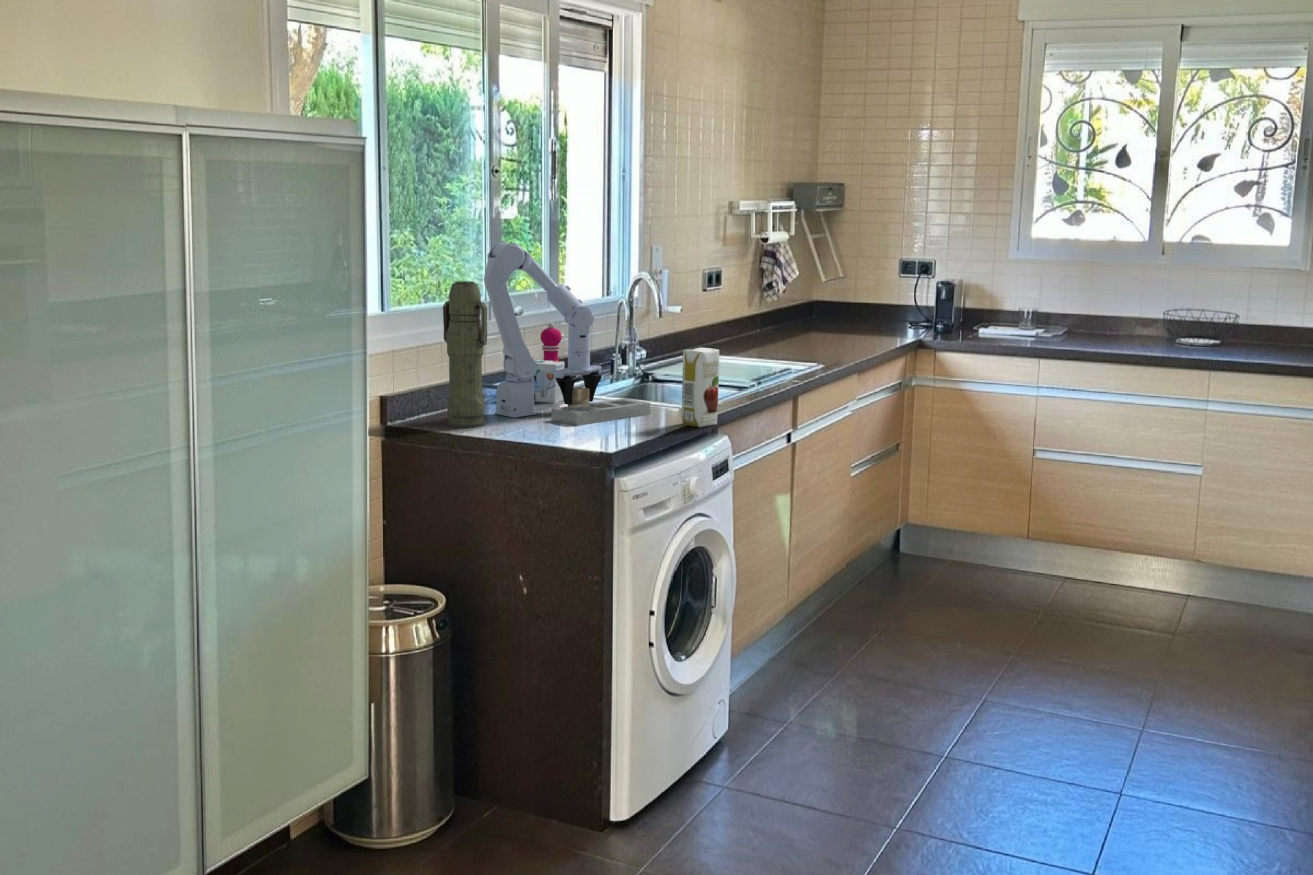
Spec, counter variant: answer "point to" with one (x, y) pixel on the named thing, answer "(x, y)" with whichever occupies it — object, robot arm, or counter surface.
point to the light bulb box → (547, 382)
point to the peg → (580, 396)
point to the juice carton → (700, 387)
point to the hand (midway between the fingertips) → (578, 402)
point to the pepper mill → (551, 343)
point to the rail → (600, 411)
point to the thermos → (465, 353)
